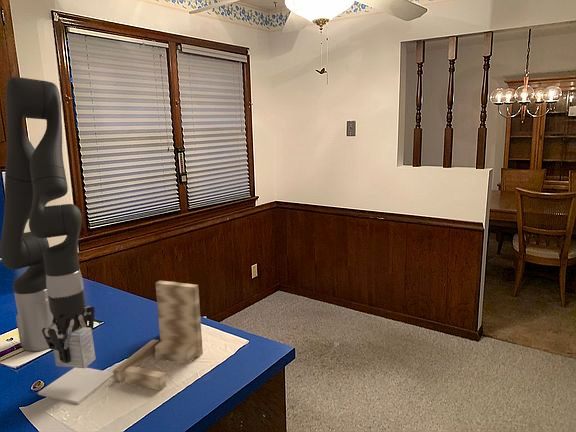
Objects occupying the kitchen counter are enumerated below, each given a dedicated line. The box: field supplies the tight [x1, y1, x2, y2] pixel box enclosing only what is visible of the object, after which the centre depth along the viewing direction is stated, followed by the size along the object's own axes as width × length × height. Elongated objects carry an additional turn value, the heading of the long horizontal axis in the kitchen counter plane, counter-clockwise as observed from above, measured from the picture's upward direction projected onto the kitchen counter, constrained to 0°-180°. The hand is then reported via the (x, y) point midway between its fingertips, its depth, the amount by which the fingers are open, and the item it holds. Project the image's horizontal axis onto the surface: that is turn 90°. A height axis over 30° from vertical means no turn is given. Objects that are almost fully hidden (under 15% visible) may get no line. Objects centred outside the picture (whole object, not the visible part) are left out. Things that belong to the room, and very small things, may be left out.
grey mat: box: [37, 367, 114, 405], centre depth 106 cm, size 12×12×1 cm
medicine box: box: [53, 327, 97, 369], centre depth 104 cm, size 8×4×9 cm, turn 79°
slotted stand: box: [112, 280, 204, 392], centre depth 111 cm, size 14×18×20 cm
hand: (74, 355), depth 104 cm, fingers closed on medicine box, 4 cm apart
